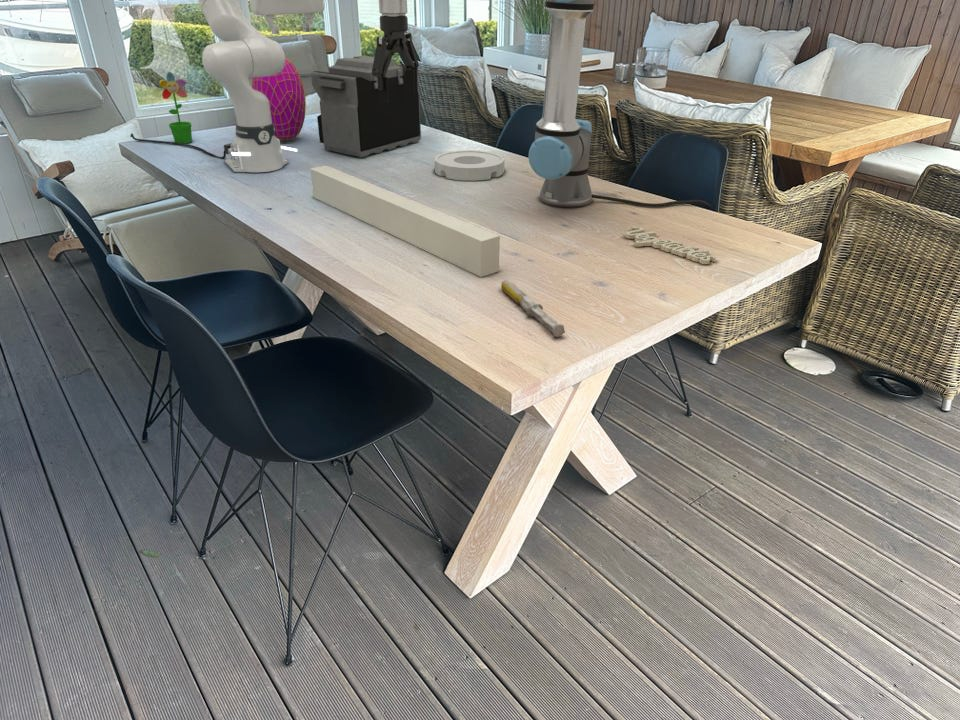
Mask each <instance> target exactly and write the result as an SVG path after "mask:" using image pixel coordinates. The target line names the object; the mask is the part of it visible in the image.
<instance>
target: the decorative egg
mask: <svg viewBox="0 0 960 720" xmlns="http://www.w3.org/2000/svg"><path fill="white" fill-rule="evenodd" d="M251 87H252V89H255V90H257V91H259V92H261V93H263V94H264V95H265V96H266V97H267V98H268V100H269V104H270V111H271V118H272V122H273V124H274V127H275V137H276V138H278V139H279V141H280V142H281V141H282V142H286V141H291V140H293V139H296V138H297V137H298V136H299V134H301V131H302V129H303V127H304V123H305V118H306V104H307V103H306V102H307V101H306V99H307V97H306V93H305V88H304V84H303V81H302V77H301V75H300V73H299V71H298V69H297V67H296V66H295V65H294V63H293V62H292V61H291V60H290V59H288V58H287V57H285V66H284V68H283V70H282V72H280V73H277V74H275V75H272V76H268V77H259V78H251Z"/></svg>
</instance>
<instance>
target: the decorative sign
mask: <svg viewBox="0 0 960 720" xmlns="http://www.w3.org/2000/svg"><path fill="white" fill-rule="evenodd" d="M624 238H626V239H629V240H630V239H631V240H634V247H636V248H639V247H653V248H655V249H660V250H661V251H663V252H667V253H671V254H673V255H677V256H679V257H685V259H687V260H691V261H693V262H696V263H697V262H698V263H700V264H702V265H709V264H710V261H711V262H712V263H715V262H716V258H717V257H716V256H715V255H711V254H710V250H709V249H700V247H699V246H697V245H696V246H686V247H685V246H684V245H683V243H682V242H681V241H677V240H676V241H675V240H673V239H667V240H666V239H662V238H658V237H657V232H656V231H645V228H643V227H639V226H631V229H630V231H625V234H624ZM709 254H710V255H709Z"/></svg>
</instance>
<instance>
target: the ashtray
mask: <svg viewBox="0 0 960 720" xmlns="http://www.w3.org/2000/svg"><path fill="white" fill-rule="evenodd" d="M434 173H435V174H436V175H437V176H439V177H445V178H446V179H449V180H454V181H455V180H456V181H465V182H467V181H469V182H471V181H474V182H475V181H487V180H491V178H498V177H501V176H503V174H504V173H505V158H504V156H503V155H501V154H498V153H495V152H493V151H492V152H491V151H486V150H477V149H476V150H474V149H470V150H469V149H467V150H466V149H464V150H463V149H462V150H451V151H446V152H443V153H442V152H441V153H440V154H437V155H436V156H435V157H434Z"/></svg>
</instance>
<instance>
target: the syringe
mask: <svg viewBox="0 0 960 720" xmlns="http://www.w3.org/2000/svg"><path fill="white" fill-rule="evenodd" d="M500 287H501V290H502V291H503V292H504V293H505V294H506V295H507V296H508V297H510V298H511V299H512V300H513V301H514V302H515V303H516V304H517V305H518V306H520V308H521V309H523V311H524V312H525V314H526V316H527V317H528V318H531V317H532V318H533V317H534V318H535V319H536V320H537V321H538V322H540V323H541V324H542V325H543V326H544V327H546V329H547V330H548V331H549V332H550V333H552V334H553V337H554V338H559V337H561V336H563V334H565V333H566V330H565V325H564V324H562V323H558V322H557V321H556V320H555V319H554V318H553V317H552V316H550V315H549V314H548V313H546V312H545V311H544V307H543V305H542V304H541V303H537V302H535V301H534V299H532V298H531V297H530V296H528V294H526V293H525V292H524V291H523V290H521V289H520V288H519V287H517V286H516V284H515V283H514V282H513V281H512V280H511V279H504V280H502V281H501V285H500Z"/></svg>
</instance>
